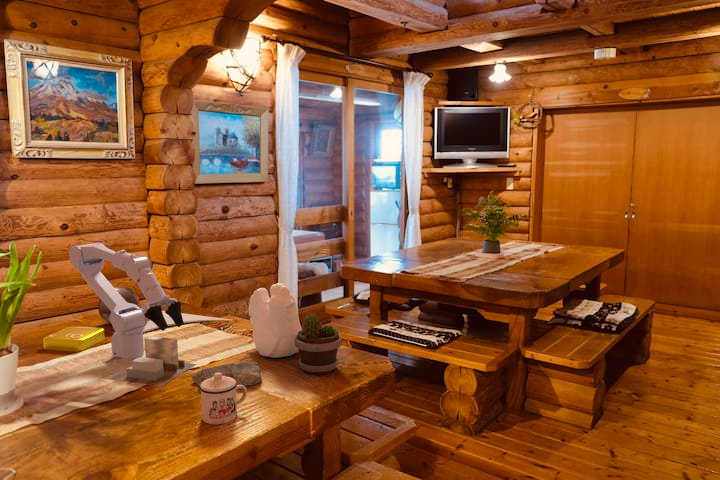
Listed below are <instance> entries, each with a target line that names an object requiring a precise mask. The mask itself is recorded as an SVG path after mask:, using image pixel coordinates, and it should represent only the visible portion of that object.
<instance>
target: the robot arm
mask: <svg viewBox="0 0 720 480" xmlns="http://www.w3.org/2000/svg"><path fill="white" fill-rule="evenodd" d="M68 255H69V262H70V263H71V265H72V266H73V267H74V268H75V270H76V271H77V272H78V273H79V274H80V275H81V277H82V278H83V280H84V281H85V282H86V283H87V285H88V286H89V287H90V288H91V290H92V291H93V292H94V293H95V294H96V295H97V297H98V298H99V300H100V299H101V300H102V301H103V302H104V303H105V305H106V306H107V307H108V308H109V309H110V311H111V314H110V317H109V321H110V322H111V323H112V324H111V326H112V328H113V330H114V331H115V332H113V334H112V336H111V341H110V343H111V357H110V360H112V359H114V358H121V359H124V360H130V359H131V360H132V359H133V360H134V359H137V358H139V357H144V354H145V344H144V333H143V330H144V329H145V328H144V327H145V326H146V325H147V322H148V321H149V320H151V321H152V322H154V323H155V324H156V325H157V326H158V327H159V328H158V329H160V330H161V331H162V332H164V331H165V330H167V329H168V327H169V326H168V325H167V323H166V320H165V318H164V316H163V313H162V311H163V310H162V309H164V308H167V310H164V311H165V313H166V314H168V315H169V316H170V317H171V318H172V320H173V321H174V323H175V324H176V325H175V326H176V327H178V328H180V327H181V326H183V325H184V324H185V323H184V322H183V318H182V314H181V313H182V306H181V305H182V303H181V301H180V300H179V301H178V299H177V298H174V297H173V298H172V297H171V295H169V294H166V293H165V291H164V289H163V288H162V286H161V284H160V282H159V281H158V279H157V277H156V276H155V273H154V272H153V263H152V260H151V259H150V258H149V257H148V256H147V255H142V256H137V254H135V253H130V252H127V250H125V249H120V250H117V251H115V250H113V249H110V248H108V247H107V246H105V244H104V243H101V242H99V241H97V242H94V243H87V244H80V245H72V246H71V247H70V249H69V252H68ZM105 261H107V262H111V265H112V266H113V267H114V268H116V269H119V270H121V271H123V272H126V273H125V274H126V275H127V277H129V278H131V279H132V281H133V282H134V283H136V284H137V286H138V288H139V289H140V291H141V293H142V294H143V296H144V298H145V300H146V302H144V304H142V305H140V308H139V307H138V306H137V305H136V304H132V303H128V302H126V301H125V300H124V299H123V297H122V296H121V295H120V294H119V293H118V292H117V290H116V289H115V288H114V287H115V286H113V285H112V284H111V282H110V281H109V280H108V279H107V278H106V277H105V275H104V274H103V273H102V272H101V270H103V269H104V265H105Z"/></svg>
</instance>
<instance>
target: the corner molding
mask: <svg viewBox="0 0 720 480" xmlns="http://www.w3.org/2000/svg"><path fill="white" fill-rule="evenodd" d="M165 311H166V310H162V313H163V316H164V318H165V320H166V323H167V325H168V327H169V326H177V325H176V324H175V323H174V321H173V320H172V318H171V317H170V316H169V315H168V314H166V313H165ZM181 314H182V318H183V322H184V324H188V323H189V324H190V323H199V322H222V321H223V322H224V321H225V322H227V321H228V322H229V321H230V322H231V321H233V319H229V318H222V317H221V318H220V317H214V316H206V315H200V314H199V315H198V314H191V313H183V312H181ZM144 328H145V329H144V330H143V334H144V333H147V332H150V331H155V330H156V329H160V328H159V327H158V326H157V325H156V324H155V323H154V322H152V321H151V320H149V319H148V322H147V325H146V326H145V327H144Z"/></svg>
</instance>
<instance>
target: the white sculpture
mask: <svg viewBox="0 0 720 480" xmlns="http://www.w3.org/2000/svg"><path fill="white" fill-rule="evenodd" d="M269 294H270V296H269ZM248 315H249V316H250V317H249V321H250V323H251V324H250V325H251V326H252V328H253V330H252V338H253V342H254V345H255V348H256V350H257V352H258V354H259V355H261V356H263V357H269V358H284V357H289V356H290V357H291V356H292V355H294V354H295V353H298V352H299V351H298V348H297V347H296V346H295V343H294V340H295V337H296V336H297V335H298V332H299V331H302V330H303V327H302V325H301V324H300V320H299V318H298V312H297V303H296V298H295V296H294V294H292V293H291V290H290V289H289V287H287V285H285V284H284V283H281V282H277V283H275V284H271V286H270V288H269V292H268V290H267V288H265V287H260V288H258V289H255V290H254V291H253V294H251V296H250V298H249V305H248Z"/></svg>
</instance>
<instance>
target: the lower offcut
mask: <svg viewBox="0 0 720 480" xmlns="http://www.w3.org/2000/svg"><path fill="white" fill-rule="evenodd" d="M125 370H126V372H127V377H133V378H140V379H147V380H154V381H156V380H157V379H159V378H161V377H163V376H164V368H162V369H160V370H158V371H157V372H150V371H143V370H135V369H132V365H131V366H128V367H127V368H126V369H125Z"/></svg>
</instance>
